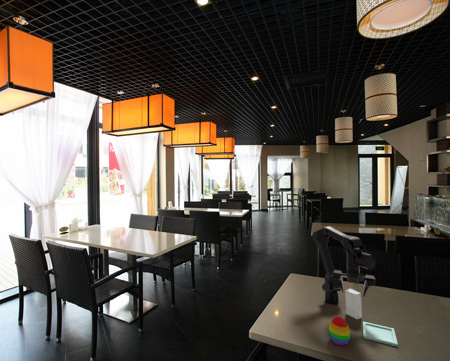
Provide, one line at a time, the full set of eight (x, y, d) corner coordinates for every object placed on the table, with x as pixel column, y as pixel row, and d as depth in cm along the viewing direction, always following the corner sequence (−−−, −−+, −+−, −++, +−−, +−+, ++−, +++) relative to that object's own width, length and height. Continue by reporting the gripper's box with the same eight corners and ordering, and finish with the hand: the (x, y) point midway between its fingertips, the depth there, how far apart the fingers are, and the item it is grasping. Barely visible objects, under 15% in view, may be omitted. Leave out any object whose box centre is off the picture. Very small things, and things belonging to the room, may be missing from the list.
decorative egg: (324, 340, 104) (324, 316, 104) (334, 333, 109) (334, 310, 109) (343, 350, 98) (343, 325, 98) (353, 342, 103) (353, 318, 103)
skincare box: (362, 317, 121) (362, 292, 121) (356, 320, 119) (356, 294, 119) (351, 311, 127) (350, 288, 127) (345, 314, 125) (344, 289, 125)
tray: (363, 338, 105) (363, 335, 105) (362, 324, 116) (362, 321, 116) (397, 347, 100) (397, 344, 100) (393, 331, 110) (393, 328, 110)
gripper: (331, 264, 121) (331, 297, 121) (376, 271, 112) (376, 306, 112) (333, 258, 131) (333, 288, 130) (374, 264, 122) (374, 296, 122)
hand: (353, 294), depth 123 cm, fingers open, 9 cm apart
